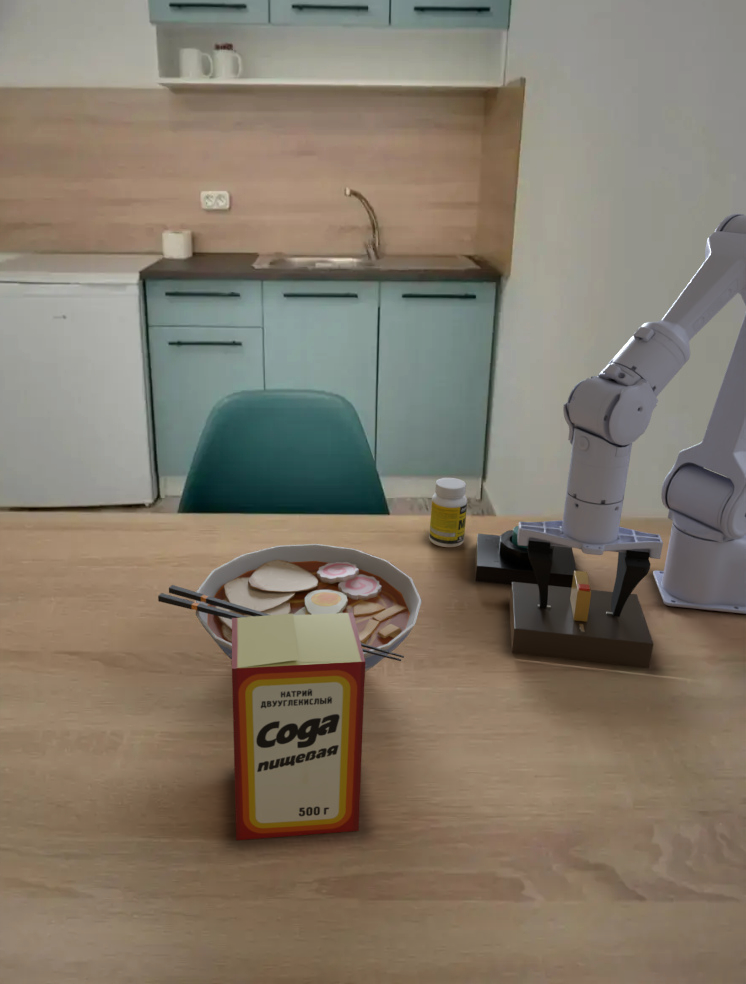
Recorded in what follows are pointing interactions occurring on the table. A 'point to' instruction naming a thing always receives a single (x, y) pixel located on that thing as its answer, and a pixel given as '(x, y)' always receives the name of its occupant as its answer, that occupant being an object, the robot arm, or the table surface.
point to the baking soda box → (297, 724)
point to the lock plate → (578, 627)
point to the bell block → (518, 562)
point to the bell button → (514, 537)
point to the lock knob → (580, 596)
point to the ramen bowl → (308, 593)
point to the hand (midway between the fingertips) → (578, 607)
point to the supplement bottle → (448, 513)
